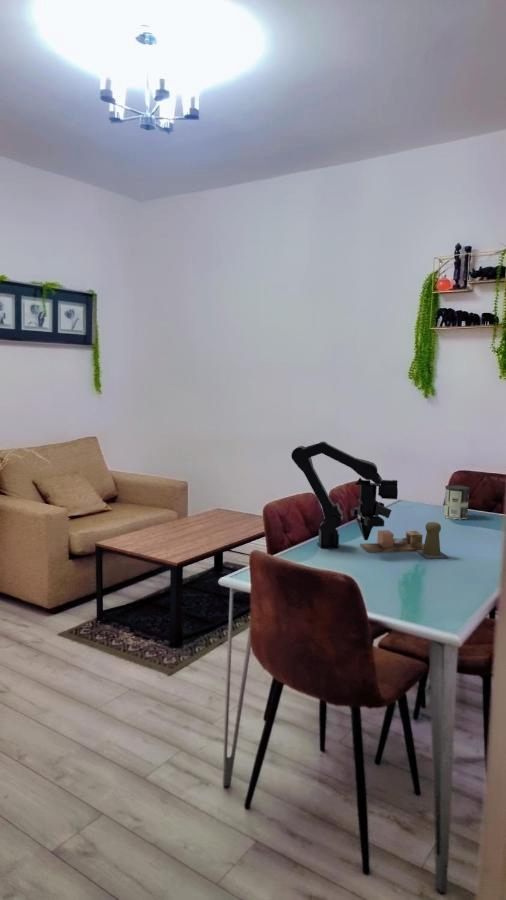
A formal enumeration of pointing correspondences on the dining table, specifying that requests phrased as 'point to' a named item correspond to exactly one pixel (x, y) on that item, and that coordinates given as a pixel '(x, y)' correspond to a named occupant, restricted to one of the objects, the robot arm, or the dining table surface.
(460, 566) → the dining table surface
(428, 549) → the cork
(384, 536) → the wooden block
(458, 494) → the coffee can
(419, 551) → the seat pad
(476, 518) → the dining table surface
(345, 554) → the dining table surface
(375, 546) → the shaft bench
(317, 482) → the robot arm
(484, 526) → the dining table surface
